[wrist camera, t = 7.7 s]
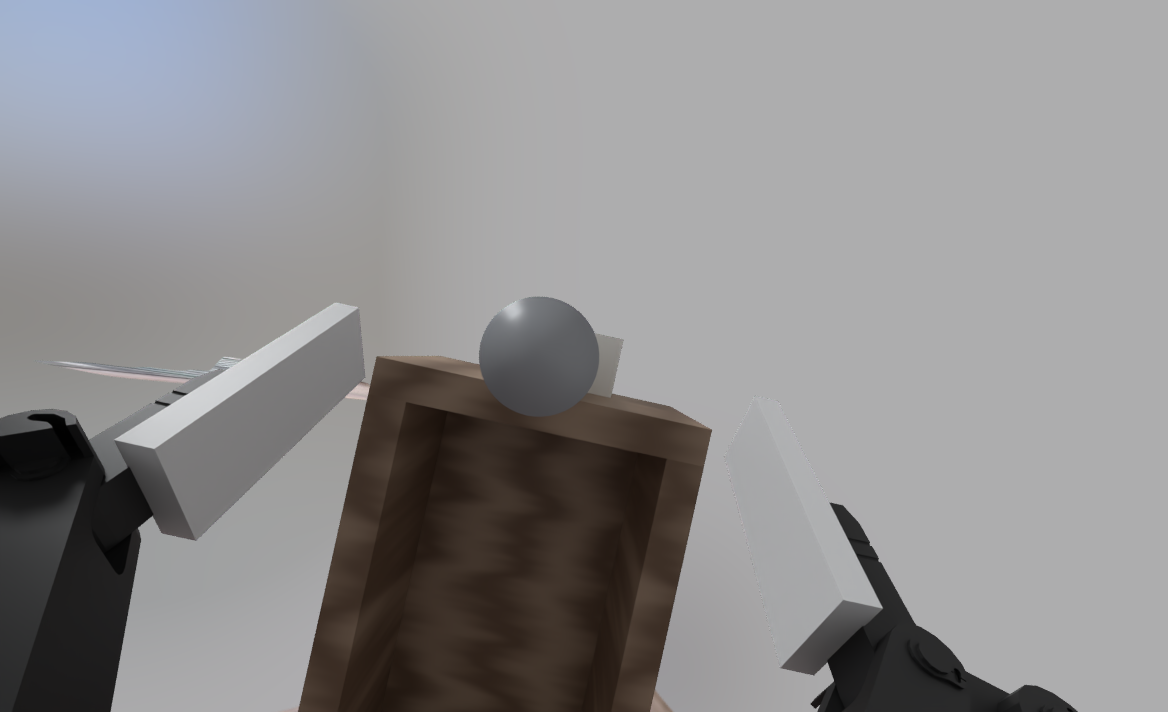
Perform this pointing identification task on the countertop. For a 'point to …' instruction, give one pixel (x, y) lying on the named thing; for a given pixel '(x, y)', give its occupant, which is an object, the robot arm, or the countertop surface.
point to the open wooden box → (503, 550)
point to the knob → (546, 357)
